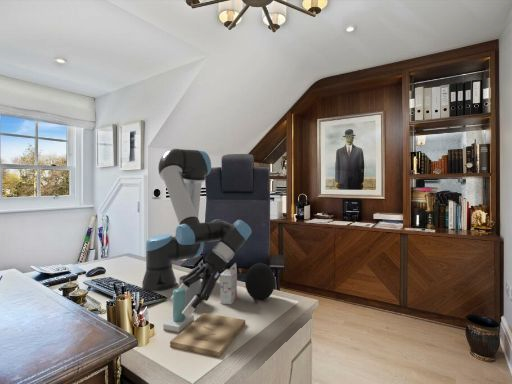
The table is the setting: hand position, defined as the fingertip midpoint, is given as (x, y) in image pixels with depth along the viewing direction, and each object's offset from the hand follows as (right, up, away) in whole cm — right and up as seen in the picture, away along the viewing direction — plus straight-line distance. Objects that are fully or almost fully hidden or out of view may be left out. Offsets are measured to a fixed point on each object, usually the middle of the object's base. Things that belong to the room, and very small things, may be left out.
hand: (178, 307), depth 97 cm
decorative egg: (+28, -6, +23) cm, 37 cm away
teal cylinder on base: (0, -6, +1) cm, 6 cm away
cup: (-1, -6, +20) cm, 21 cm away
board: (+12, -6, -5) cm, 14 cm away
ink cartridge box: (+15, -6, +22) cm, 27 cm away
